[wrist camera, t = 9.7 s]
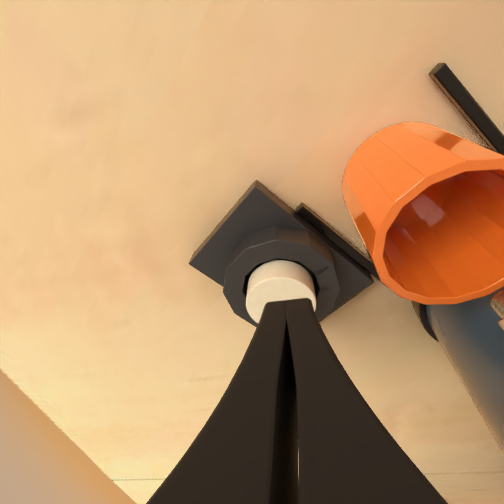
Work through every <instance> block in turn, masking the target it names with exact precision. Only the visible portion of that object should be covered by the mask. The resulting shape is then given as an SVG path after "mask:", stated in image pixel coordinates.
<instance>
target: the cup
mask: <svg viewBox="0 0 504 504" xmlns="http://www.w3.org/2000/svg"><path fill="white" fill-rule="evenodd" d="M342 191H343V198H344V201H345V204H346V206H347V208H348V211H349V213H350V216H351V218H352V220H353V222H354V224H355V227H356V229H357V231H358V233H359V235H360V237H361V239H362V242H363V244H364V246H365V248H366V250H367V252H368V255H369V257H370V259H371V261H372V263H373V265H374V268H375V270H376V272H377V274H378V276H379V278H380V280H381V282H383V283H384V284H385V285H386V286H387V287H388V288H390V289H391V290H392V291H393V292H394V293H396V294H397V295H398V296H400V297H402V298H405V299H409V300H412V301H415V302H418V303H422V304H426V305H435V304H458V303H462V302H465V301H469V300H473V299H476V298H480V297H483V296H487V295H489V294H491V293H493V292H495V291H496V290H498V289H500V288H502V287H503V286H504V154H502V153H499V152H497V151H494V150H492V149H489V148H487V147H485V146H482V145H480V144H477V143H475V142H472V141H470V140H468V139H465V138H463V137H460V136H458V135H455V134H453V133H451V132H448V131H446V130H443V129H440V128H438V127H435V126H433V125H430V124H427V123H420V122H406V123H400V124H396V125H392V126H390V127H387V128H385V129H383V130H381V131H379V132H377V133H375V134H374V135H373V136H371V137H370V138H368V139H367V140H366V141H365V142H364V143H363V144H362V145H361V146H360V147H359V148H358V149H357V150H356V152H355V153H354V154H353V156H352V157H351V159H350V161H349V163H348V165H347V167H346V170H345V173H344V177H343V183H342Z"/></svg>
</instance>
